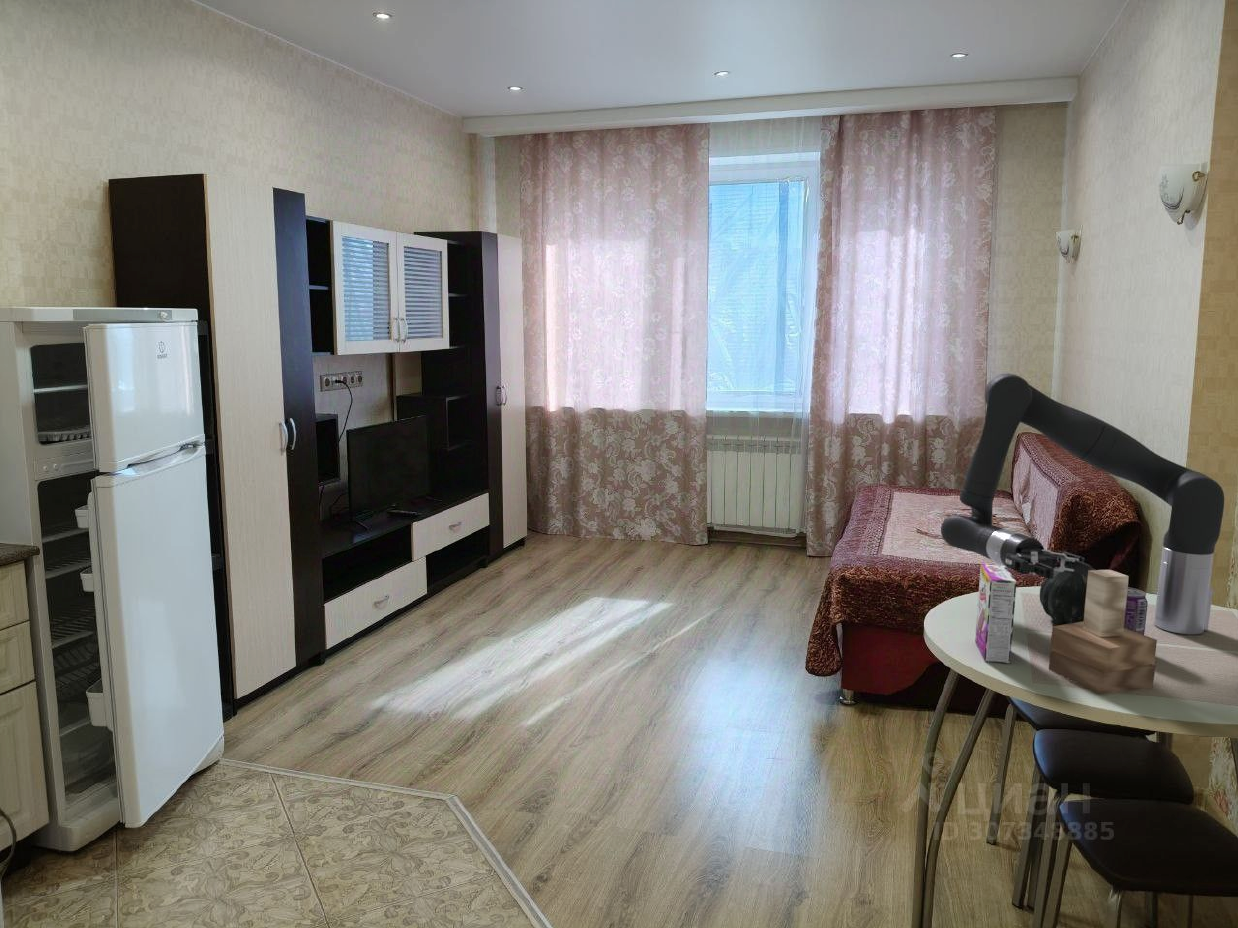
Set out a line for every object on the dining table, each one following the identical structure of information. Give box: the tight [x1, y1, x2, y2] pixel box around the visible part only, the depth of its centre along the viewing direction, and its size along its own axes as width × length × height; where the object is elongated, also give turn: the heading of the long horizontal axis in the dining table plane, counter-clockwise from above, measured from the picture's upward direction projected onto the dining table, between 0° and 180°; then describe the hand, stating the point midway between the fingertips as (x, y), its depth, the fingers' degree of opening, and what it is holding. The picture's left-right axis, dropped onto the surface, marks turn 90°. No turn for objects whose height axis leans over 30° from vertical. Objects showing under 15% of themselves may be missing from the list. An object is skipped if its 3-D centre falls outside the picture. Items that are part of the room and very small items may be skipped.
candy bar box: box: [974, 563, 1017, 664], centre depth 181 cm, size 11×5×16 cm, turn 168°
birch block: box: [1083, 569, 1130, 637], centre depth 168 cm, size 5×5×11 cm
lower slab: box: [1048, 650, 1156, 696], centre depth 170 cm, size 12×12×4 cm
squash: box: [1039, 566, 1096, 626], centre depth 199 cm, size 14×15×15 cm
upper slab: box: [1049, 621, 1158, 673], centre depth 169 cm, size 12×12×4 cm
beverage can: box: [1124, 586, 1149, 635], centre depth 184 cm, size 7×7×12 cm
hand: (1071, 572), depth 177 cm, fingers open, 8 cm apart
